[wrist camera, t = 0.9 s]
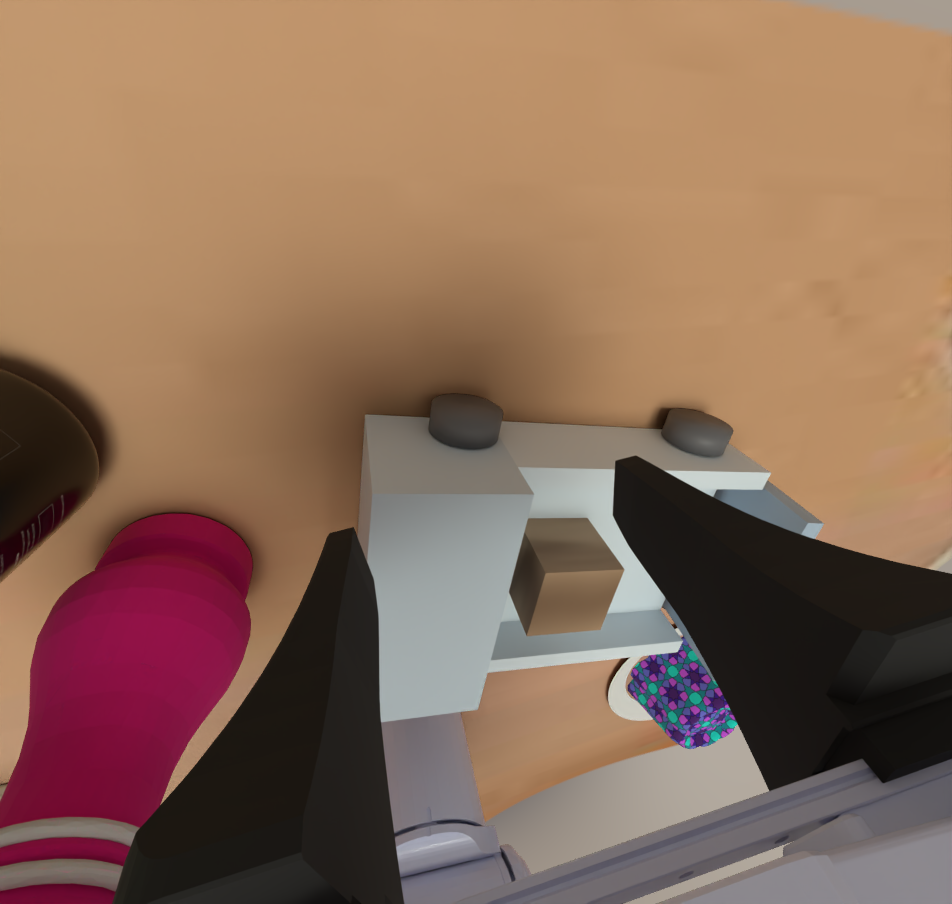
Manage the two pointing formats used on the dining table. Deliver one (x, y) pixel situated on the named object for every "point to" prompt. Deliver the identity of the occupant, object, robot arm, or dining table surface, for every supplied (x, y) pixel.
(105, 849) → the pepper mill
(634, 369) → the dining table surface
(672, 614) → the panel
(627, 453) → the ute bed
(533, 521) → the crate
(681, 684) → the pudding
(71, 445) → the supplement bottle
